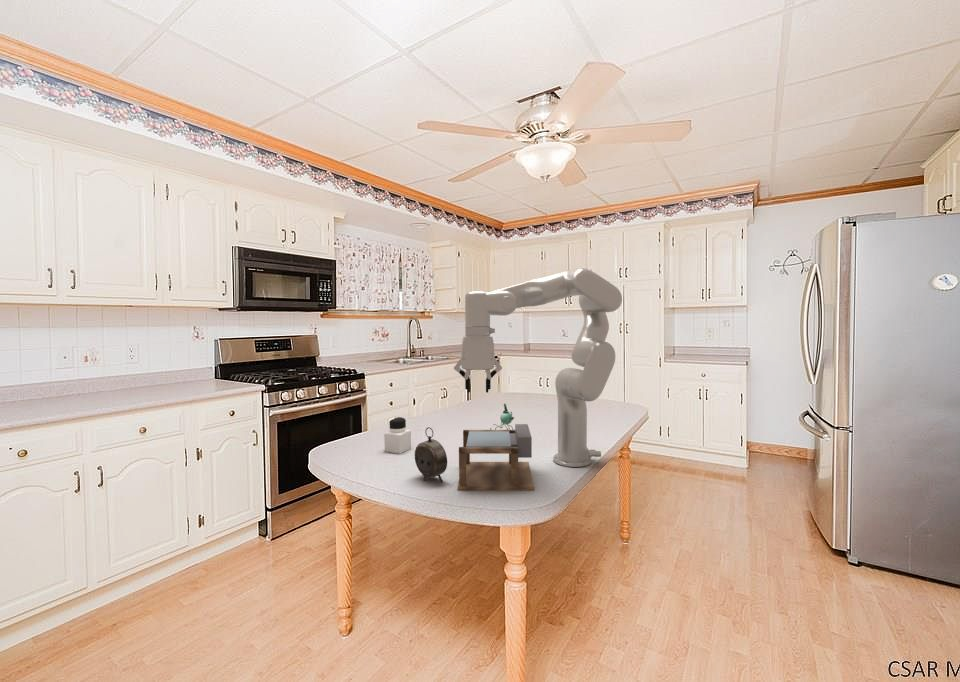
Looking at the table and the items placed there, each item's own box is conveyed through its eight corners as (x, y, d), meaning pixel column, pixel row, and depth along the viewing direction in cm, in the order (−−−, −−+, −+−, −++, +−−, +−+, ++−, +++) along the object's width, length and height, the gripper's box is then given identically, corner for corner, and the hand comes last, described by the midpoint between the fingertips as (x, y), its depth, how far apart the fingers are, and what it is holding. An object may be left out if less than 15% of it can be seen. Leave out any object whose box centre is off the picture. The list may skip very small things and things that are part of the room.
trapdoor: (527, 441, 145) (527, 423, 145) (531, 458, 129) (531, 437, 129) (469, 441, 146) (469, 423, 145) (466, 458, 130) (466, 437, 129)
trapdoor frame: (528, 464, 148) (528, 429, 147) (534, 490, 127) (534, 449, 126) (462, 464, 149) (462, 429, 148) (457, 490, 128) (456, 449, 127)
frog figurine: (479, 435, 184) (483, 399, 183) (521, 437, 187) (524, 402, 187) (484, 441, 174) (487, 404, 174) (528, 443, 178) (531, 407, 177)
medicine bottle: (411, 448, 167) (410, 417, 166) (400, 454, 160) (399, 421, 159) (395, 446, 170) (395, 415, 169) (384, 451, 163) (383, 419, 162)
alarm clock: (448, 481, 134) (447, 428, 133) (435, 486, 130) (434, 432, 129) (425, 472, 142) (424, 422, 141) (411, 477, 138) (410, 426, 137)
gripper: (505, 331, 138) (505, 389, 140) (450, 331, 139) (451, 389, 140) (506, 332, 131) (506, 394, 132) (448, 333, 131) (449, 394, 133)
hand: (478, 391), depth 136 cm, fingers open, 4 cm apart
